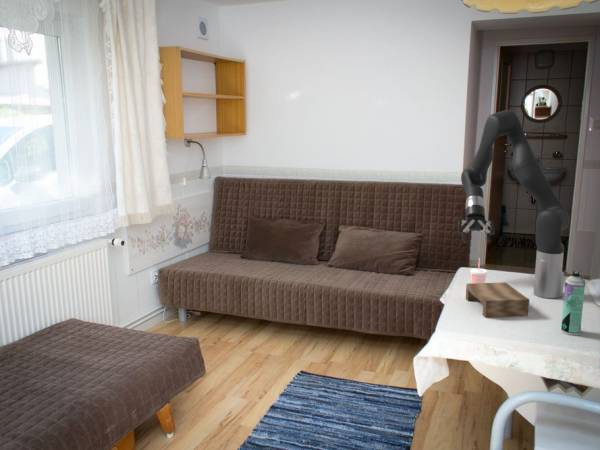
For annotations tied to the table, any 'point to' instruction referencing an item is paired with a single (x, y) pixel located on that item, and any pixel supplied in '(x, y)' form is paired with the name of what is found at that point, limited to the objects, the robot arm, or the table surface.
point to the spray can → (573, 304)
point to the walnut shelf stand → (498, 299)
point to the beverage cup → (478, 274)
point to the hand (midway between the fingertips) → (476, 242)
